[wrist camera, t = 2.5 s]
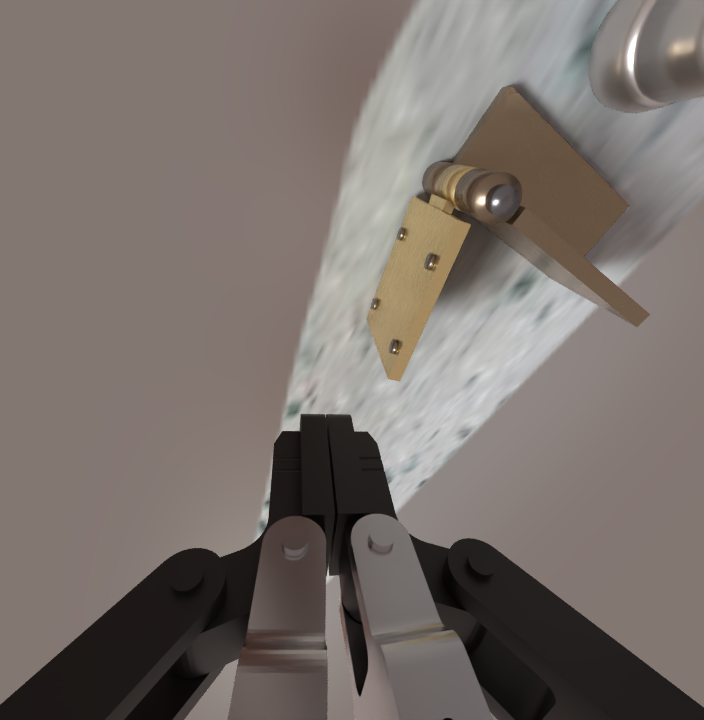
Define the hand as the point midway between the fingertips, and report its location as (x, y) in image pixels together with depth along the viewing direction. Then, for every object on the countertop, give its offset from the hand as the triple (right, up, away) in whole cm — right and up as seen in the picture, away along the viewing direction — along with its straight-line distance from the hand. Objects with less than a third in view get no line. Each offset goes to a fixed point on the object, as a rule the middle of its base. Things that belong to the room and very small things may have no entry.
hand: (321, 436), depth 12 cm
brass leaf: (+5, +11, +17) cm, 21 cm away
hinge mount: (+13, +15, +17) cm, 26 cm away
